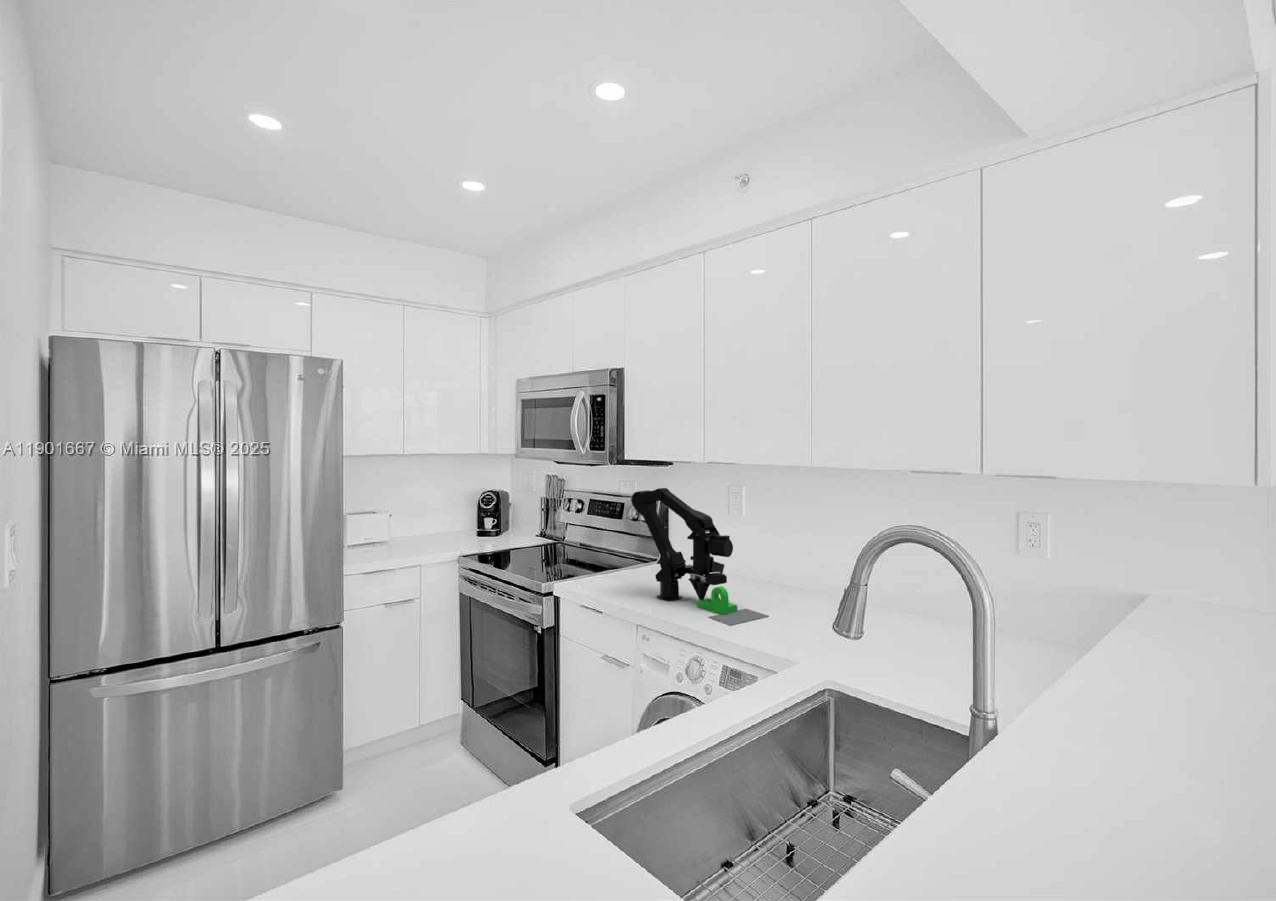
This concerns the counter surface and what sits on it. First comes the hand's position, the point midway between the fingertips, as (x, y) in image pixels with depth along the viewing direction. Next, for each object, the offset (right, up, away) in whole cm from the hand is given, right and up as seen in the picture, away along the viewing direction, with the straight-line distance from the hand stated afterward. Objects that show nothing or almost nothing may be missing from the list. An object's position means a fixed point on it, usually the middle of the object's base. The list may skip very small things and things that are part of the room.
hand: (701, 600), depth 205 cm
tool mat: (+10, -2, -14) cm, 18 cm away
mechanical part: (+4, -2, -6) cm, 8 cm away
